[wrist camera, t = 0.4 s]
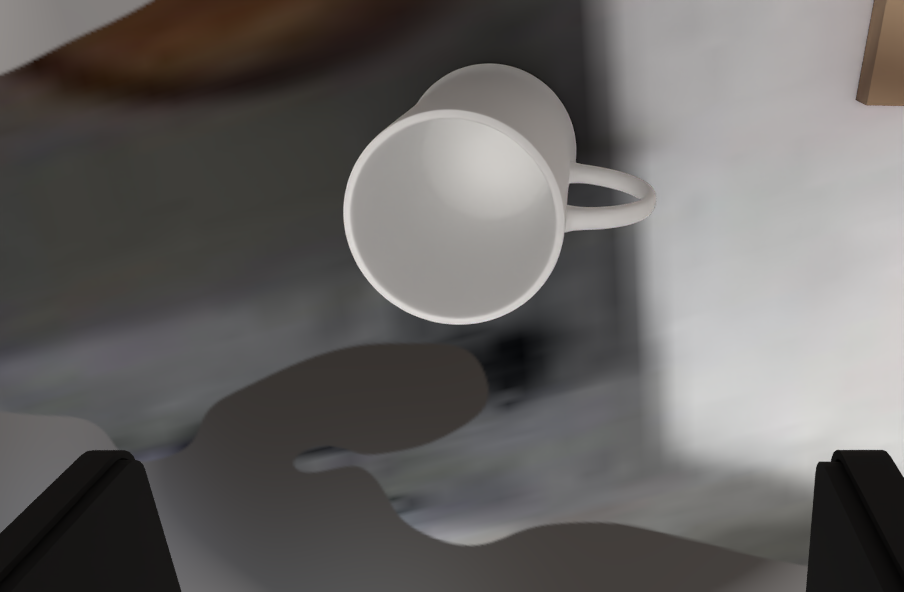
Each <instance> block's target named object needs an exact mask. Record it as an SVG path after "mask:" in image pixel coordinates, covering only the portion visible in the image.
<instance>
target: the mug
mask: <svg viewBox="0 0 904 592" xmlns="http://www.w3.org/2000/svg"><path fill="white" fill-rule="evenodd" d="M570 183H586V184H593V185H599V186H604V187H608V188H612V189H616V190H619V191H622V192H625V193H628V194H630V195H632V196H634V197H636V198H638V199H639V201H636V202H633V203H628V204H623V205H617V206H607V207H578V206H571V205H567V197H568V187H569V184H570ZM655 205H656V193H655V191H654V189H653V188H652V186H651V185H649V184H648V183H647V182H645V181H644V180H642V179H640V178H637V177H635V176H633V175H630V174H627V173H624V172H620V171H616V170H612V169H608V168H603V167H597V166H591V165H585V164H579V163H576V139H575V133H574V129H573V125H572V122H571V119H570V117H569V115H568V113H567V111H566V109H565V107H564V105H563V104H562V102H561V101H560V99H559V98H558V97H557V95H556V94H555V93H554V92H553V91H552V90H551V89H550V88H549V87H548V86H547V85H546V84H545V83H543V82H542V81H541V80H539V79H538V78H536V77H535V76H533V75H531V74H530V73H528V72H526V71H523V70H521V69H518V68H515V67H512V66H508V65H502V64H492V63H486V64H476V65H470V66H466V67H463V68H460V69H457V70H455V71H453V72H451V73H449V74H447V75H445V76H444V77H442V78H441V79H439V80H438V81H437V82H435V83H434V84H433V85H432V86H431V87H430V88H429V89H428V90H427V91H426V92H425V93H424V94H423V96H422V97H421V98H420V100H419V101H418V103H417V104H416V105H415V106H414V107H412V108H411V109H410V110H408V111H407V112H406V113H405V114H403V115H402V116H401V117H400V118H398V119H397V120H396V121H395V122H393V123H392V124H391V125H390V126H388V127H387V128H386V129H384V130H383V131H382V132H381V133H380V134H379V135H377V136H376V137H375V138H374V139H373V140H372V141H371V142H370V144H369V145H368V146H367V147H366V148H365V150H364V151H363V152H362V154H361V155H360V157H359V158H358V160H357V162H356V164H355V166H354V168H353V170H352V172H351V174H350V177H349V180H348V183H347V187H346V192H345V197H344V211H343V213H344V226H345V232H346V237H347V241H348V244H349V247H350V250H351V252H352V255H353V257H354V259H355V261H356V263H357V265H358V267H359V268H360V270H361V271H362V273H363V274H364V276H365V277H366V278H367V280H368V281H369V282H370V283H371V285H372V286H373V287H374V288H375V289H376V290H377V291H378V292H379V293H380V294H381V295H382V296H384V297H385V298H386V299H387V300H389V301H390V302H391V303H393V304H394V305H396V306H397V307H399V308H401V309H402V310H404V311H406V312H408V313H410V314H412V315H415V316H417V317H420V318H423V319H426V320H429V321H433V322H438V323H444V324H474V323H480V322H485V321H489V320H492V319H495V318H498V317H501V316H503V315H505V314H507V313H509V312H511V311H513V310H515V309H516V308H518V307H519V306H521V305H522V304H524V303H525V302H526V301H528V300H529V299H530V298H531V297H532V296H533V295H534V294H535V293H536V292H537V291H538V290H539V289H540V288H541V287H542V285H543V284H544V283H545V281H546V280H547V278H548V277H549V275H550V274H551V272H552V270H553V268H554V266H555V264H556V262H557V260H558V257H559V254H560V251H561V247H562V243H563V238H564V232H569V231H574V230H594V229H607V228H615V227H621V226H626V225H630V224H634V223H637V222H639V221H642V220H644V219H645V218H647V217H648V216H649V215H650V214H651V213H652V212H653V210H654V208H655Z"/></svg>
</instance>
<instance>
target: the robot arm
mask: <svg viewBox="0 0 904 592" xmlns="http://www.w3.org/2000/svg"><path fill="white" fill-rule="evenodd" d="M0 592H181V589H180V585H179V582H178V579H177V576H176V572H175V569H174V565H173V562H172V558H171V555H170V552H169V548H168V545H167V542H166V538H165V535H164V531H163V528H162V525H161V521H160V518H159V515H158V511H157V508H156V505H155V501H154V498H153V495H152V491H151V488H150V484H149V481H148V478H147V474H146V471H145V468H144V466H143V464H142V463H141V462H140V461H137V460H135V459H134V456H133V455H132V454H131V453H130V452H128V451H125V450H95V451H94V450H92V451H87V452H85V453H84V454H82V455H81V456H80V457H79V458H78V459H77V460H76V461H75V462H74V463H73V464H72V465H71V466H70V467H69V468H68V469H66V470H65V471H64V472H63V473H62V474H61V475H60V476H59V477H58V478H57V479H56V480H55V481H54V482H53V483H52V484H51V485H50V486H49V487H48V488H47V489H46V490H45V491H44V492H43V493H42V494H41V495H40V496H38V497H37V499H35V500H34V501H33V502H32V503H31V504H30V505H29V506H28V507H27V508H26V509H25V510H24V511H23V512H22V513H21V514H20V515H19V516H18V517H17V518H16V519H15V520H14V521H13V522H12V523H11V524H10V525H8V526H7V527H6V528H5V529H4V530H3V531H2V532H1V533H0ZM806 592H904V477H903V476H902V474H901V473H900V471H899V469H898V468H897V466H896V465H895V463H894V461H893V460H892V458H891V456H890V455H889V454H888V453H887V452H886V451H884V450H836V451H835V452H834V453H833V456H832V459H831V462H819V463H818V464H817V467H816V474H815V486H814V499H813V511H812V523H811V536H810V548H809V560H808V574H807V586H806Z"/></svg>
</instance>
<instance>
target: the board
mask: <svg viewBox="0 0 904 592" xmlns="http://www.w3.org/2000/svg"><path fill="white" fill-rule="evenodd" d="M856 100H857V101H859V102H861V103H863V104H865V105H883V106H904V0H874V5H873V10H872V16H871V21H870V26H869V32H868V37H867V43H866V48H865V53H864V59H863V64H862V70H861V75H860V80H859V86H858V91H857V97H856Z"/></svg>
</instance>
